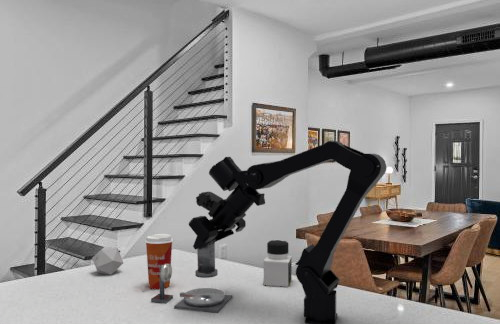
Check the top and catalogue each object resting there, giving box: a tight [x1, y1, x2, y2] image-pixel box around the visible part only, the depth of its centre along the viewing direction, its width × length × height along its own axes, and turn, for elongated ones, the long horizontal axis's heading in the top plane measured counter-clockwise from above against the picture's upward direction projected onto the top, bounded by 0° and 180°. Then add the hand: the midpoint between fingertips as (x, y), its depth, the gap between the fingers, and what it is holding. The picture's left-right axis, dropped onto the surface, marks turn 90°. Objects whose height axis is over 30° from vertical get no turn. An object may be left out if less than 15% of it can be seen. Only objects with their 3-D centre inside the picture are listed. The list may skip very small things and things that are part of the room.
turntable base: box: [173, 294, 234, 314], centre depth 105 cm, size 11×11×1 cm
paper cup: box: [144, 233, 174, 290], centre depth 118 cm, size 8×8×14 cm
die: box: [91, 246, 124, 276], centre depth 132 cm, size 8×9×10 cm
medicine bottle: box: [263, 239, 293, 288], centre depth 121 cm, size 7×7×12 cm
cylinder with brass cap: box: [194, 241, 219, 279], centre depth 108 cm, size 6×6×10 cm
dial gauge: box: [150, 264, 174, 304], centre depth 107 cm, size 4×4×9 cm
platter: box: [179, 287, 226, 306], centre depth 105 cm, size 11×10×1 cm
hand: (199, 246), depth 108 cm, fingers closed on cylinder with brass cap, 4 cm apart
